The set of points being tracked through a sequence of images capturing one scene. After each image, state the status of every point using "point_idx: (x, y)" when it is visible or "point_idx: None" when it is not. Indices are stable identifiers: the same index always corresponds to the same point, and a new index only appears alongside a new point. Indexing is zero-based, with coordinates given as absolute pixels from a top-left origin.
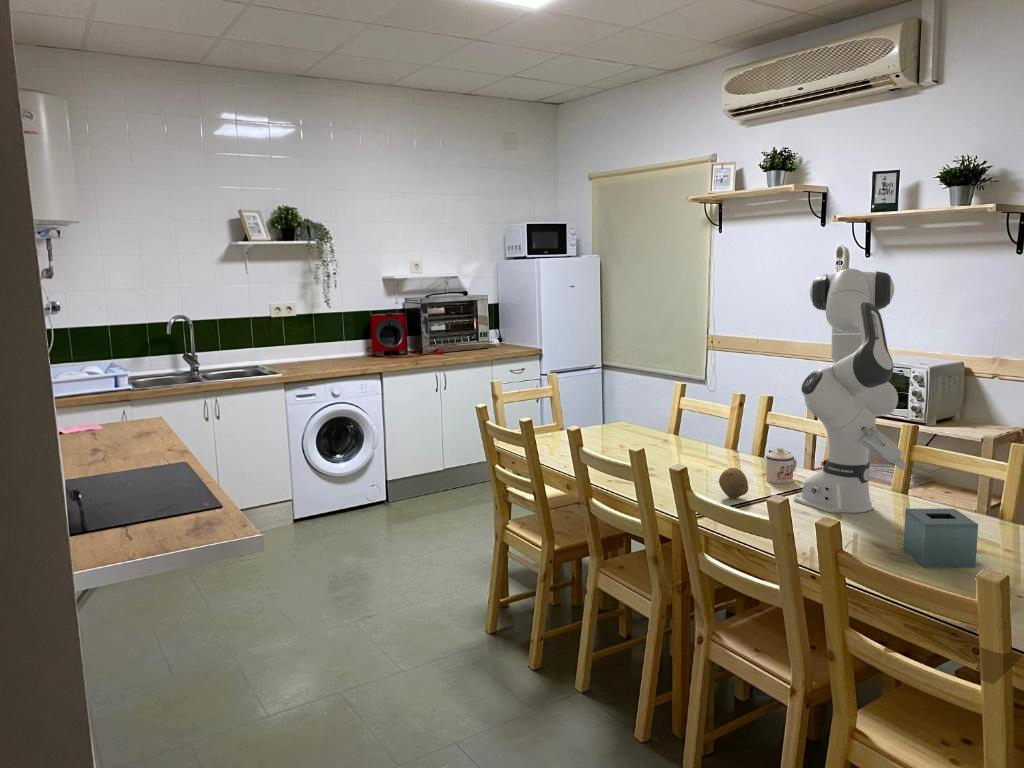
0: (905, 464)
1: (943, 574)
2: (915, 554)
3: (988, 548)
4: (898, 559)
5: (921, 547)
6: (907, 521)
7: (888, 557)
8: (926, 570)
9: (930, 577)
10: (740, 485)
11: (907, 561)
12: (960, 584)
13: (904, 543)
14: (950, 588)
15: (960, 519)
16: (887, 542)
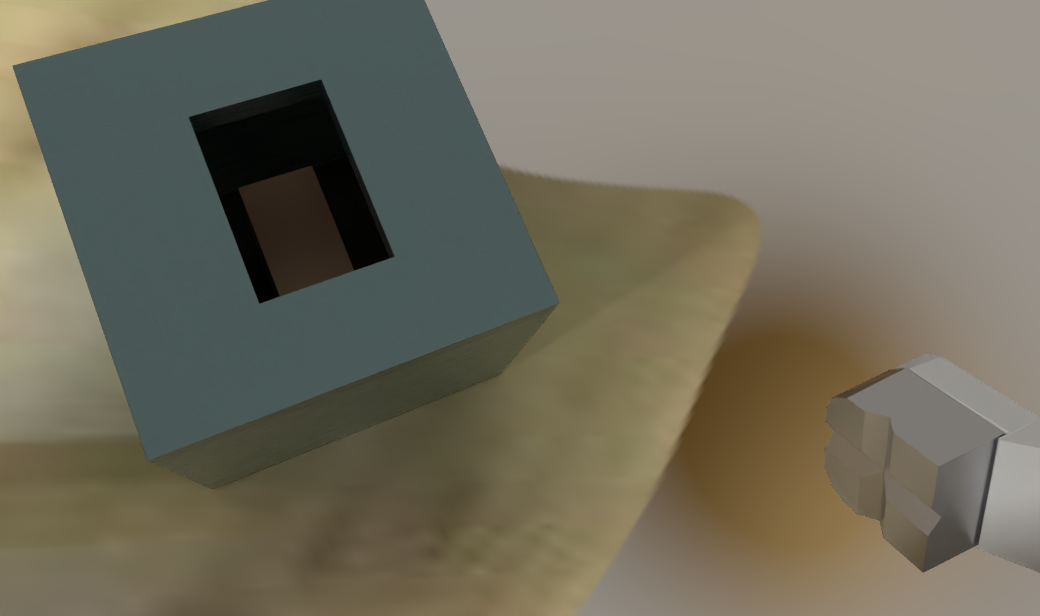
0: (951, 373)
1: (563, 280)
2: (393, 412)
3: (13, 19)
4: (420, 512)
5: (477, 367)
6: (222, 449)
7: (408, 573)
8: (541, 360)
9: (637, 343)
10: None
11: (435, 460)
12: (666, 214)
13: (217, 481)
14: (740, 260)
15: (332, 59)
16: (89, 600)
